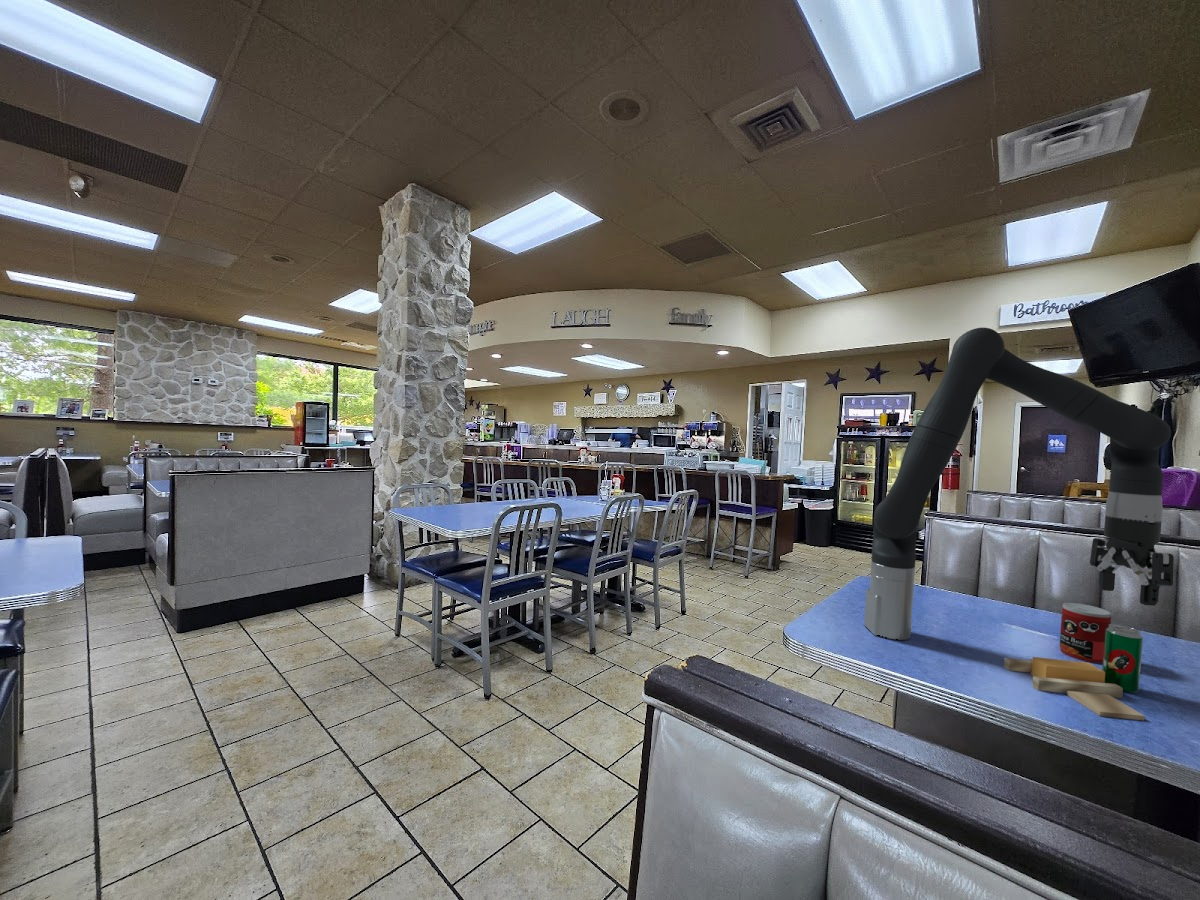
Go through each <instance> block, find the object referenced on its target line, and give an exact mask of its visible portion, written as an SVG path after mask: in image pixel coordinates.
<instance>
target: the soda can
mask: <svg viewBox="0 0 1200 900" xmlns="http://www.w3.org/2000/svg"><path fill="white" fill-rule="evenodd" d="M1108 626H1109V627H1108V628H1107V629H1106V630H1105V642H1104V655H1103V663H1102V669H1101V670H1102V671H1104V672H1105V683H1110V684H1116V685H1118V686H1120V687H1122V688H1123V692H1124V693H1127V694H1129V693H1130V694H1133V693H1136V692H1138V691H1139V690H1140V679H1141V678H1140V677H1141V667H1142V666H1141V665H1142V664H1141V663H1142V655H1143V654H1142V653H1143V652H1142V651H1143V642H1144V637H1143V636H1142V635H1141V631H1140V630H1138V629H1136V628H1133V627H1129V626H1126V625H1122V624H1117V623H1115V624H1114V623H1113V624H1112V623H1111V624H1109V625H1108Z"/></svg>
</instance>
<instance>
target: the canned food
mask: <svg viewBox="0 0 1200 900" xmlns="http://www.w3.org/2000/svg"><path fill="white" fill-rule="evenodd" d="M1061 607H1062V608H1061V620H1060V633H1059V634H1060V635H1059V649H1060V652H1061V653H1062V654H1064V655H1066V656H1068V657H1070V658H1074V659H1075V660H1080V661H1082V662H1086V663H1095V664H1103V655H1104V642H1105V630H1106V629H1107V628H1108V627H1109V626H1108V625H1109V624H1112V613H1111V612H1110V611H1108V610H1106V609H1104V608H1101V607H1097V606H1093V605H1088V604H1084V603H1079V602H1078V603H1076V602H1063V604H1062V606H1061Z"/></svg>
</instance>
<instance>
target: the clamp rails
mask: <svg viewBox="0 0 1200 900" xmlns="http://www.w3.org/2000/svg"><path fill="white" fill-rule="evenodd" d="M1003 668H1005V669H1006V670H1007V671H1011V672H1021V673H1022V672H1023V673H1032V659H1022V658H1013V657H1012V658H1009V657H1004V661H1003ZM1031 686H1032V687H1033V689H1036V690H1037V691H1041V692H1042V691H1043V692H1053V693H1062V694H1067V691H1075V692H1086V693H1096V694H1106V695H1110V696H1111V697H1113V698H1115V699H1123V694H1124V693H1123V688H1122V687H1120V686H1118V685H1116V684H1110V683H1099V682H1088V681H1077V680H1066V679H1056V678H1045V677H1034V676H1033V675H1032V685H1031Z"/></svg>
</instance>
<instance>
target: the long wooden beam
mask: <svg viewBox="0 0 1200 900" xmlns="http://www.w3.org/2000/svg"><path fill="white" fill-rule="evenodd" d="M1031 660H1032V672H1030V674H1031V676H1032V677H1033V676H1034V677H1045V678H1056V679H1066V680H1077V681H1088V682H1099V683H1105V672H1104V671H1102V669H1100V668H1099V667H1097V666H1095V665H1094V664H1092V663H1091V662H1087V661H1074V660H1065V659H1058V658H1047V657H1038V656H1037V657H1035V656H1032V659H1031Z"/></svg>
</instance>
